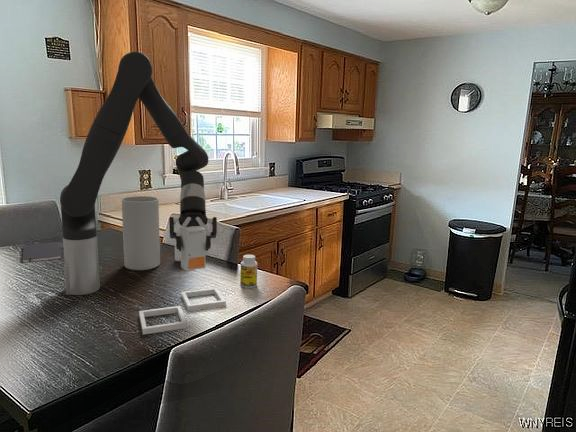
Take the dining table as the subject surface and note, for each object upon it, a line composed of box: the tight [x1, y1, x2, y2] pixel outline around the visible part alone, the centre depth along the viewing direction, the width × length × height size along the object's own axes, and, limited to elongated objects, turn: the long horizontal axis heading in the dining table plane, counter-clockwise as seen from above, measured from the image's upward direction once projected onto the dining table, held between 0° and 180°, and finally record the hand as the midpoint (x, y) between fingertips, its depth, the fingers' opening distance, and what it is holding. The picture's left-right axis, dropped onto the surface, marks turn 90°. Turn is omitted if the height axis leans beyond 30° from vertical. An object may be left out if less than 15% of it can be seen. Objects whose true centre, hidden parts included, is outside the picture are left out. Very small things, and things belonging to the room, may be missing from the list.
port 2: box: [180, 287, 227, 312], centre depth 125 cm, size 11×13×2 cm
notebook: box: [21, 241, 63, 263], centre depth 164 cm, size 13×2×21 cm
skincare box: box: [180, 226, 207, 272], centre depth 119 cm, size 6×4×12 cm
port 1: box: [138, 305, 188, 336], centre depth 111 cm, size 11×13×2 cm
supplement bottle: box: [239, 254, 258, 289], centre depth 138 cm, size 6×6×10 cm
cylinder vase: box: [121, 195, 161, 271], centre depth 151 cm, size 12×12×25 cm
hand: (193, 249), depth 118 cm, fingers closed on skincare box, 7 cm apart
